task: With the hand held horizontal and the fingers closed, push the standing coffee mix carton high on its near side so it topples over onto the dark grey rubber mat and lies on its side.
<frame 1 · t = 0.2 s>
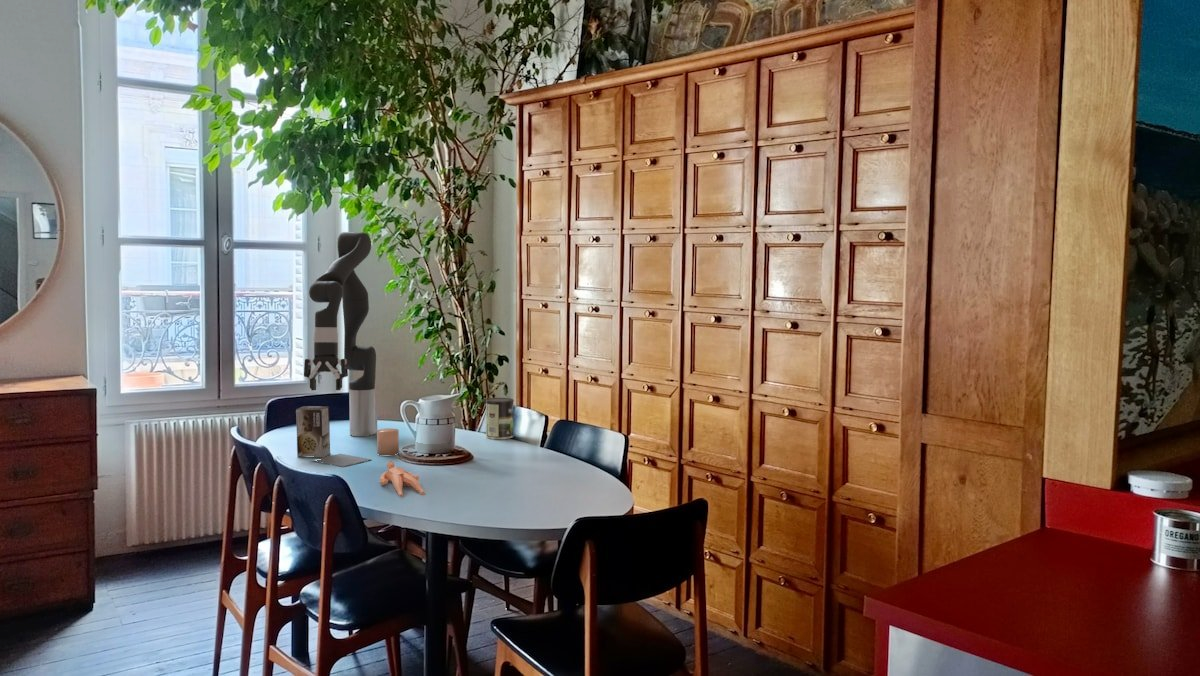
hand: (325, 390, 287), 22 cm above the table, tool pointing down, fingers open, 8 cm apart
male figurine: (400, 487, 250), on the table
peach rounded block: (388, 453, 291), on the table
coffee box: (313, 456, 287), on the table
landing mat: (341, 460, 280), on the table
coffee can: (499, 437, 322), on the table
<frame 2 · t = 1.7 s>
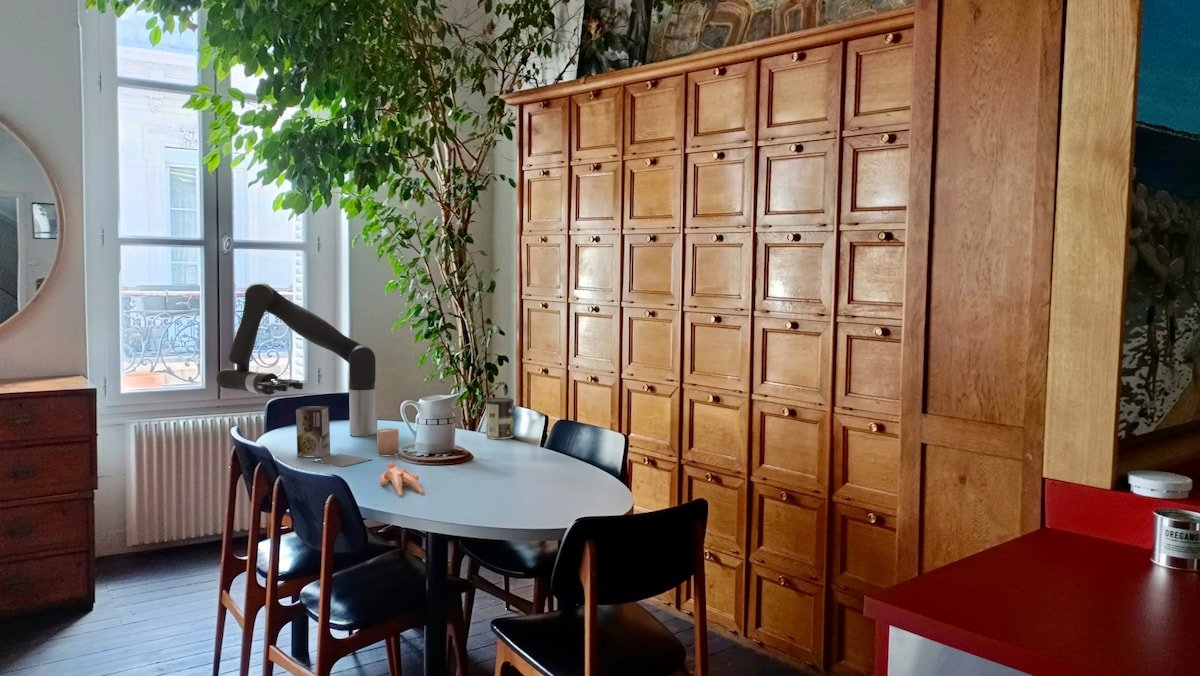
hand: (293, 387, 291), 22 cm above the table, tool horizontal, fingers open, 5 cm apart
nothing on the table moved.
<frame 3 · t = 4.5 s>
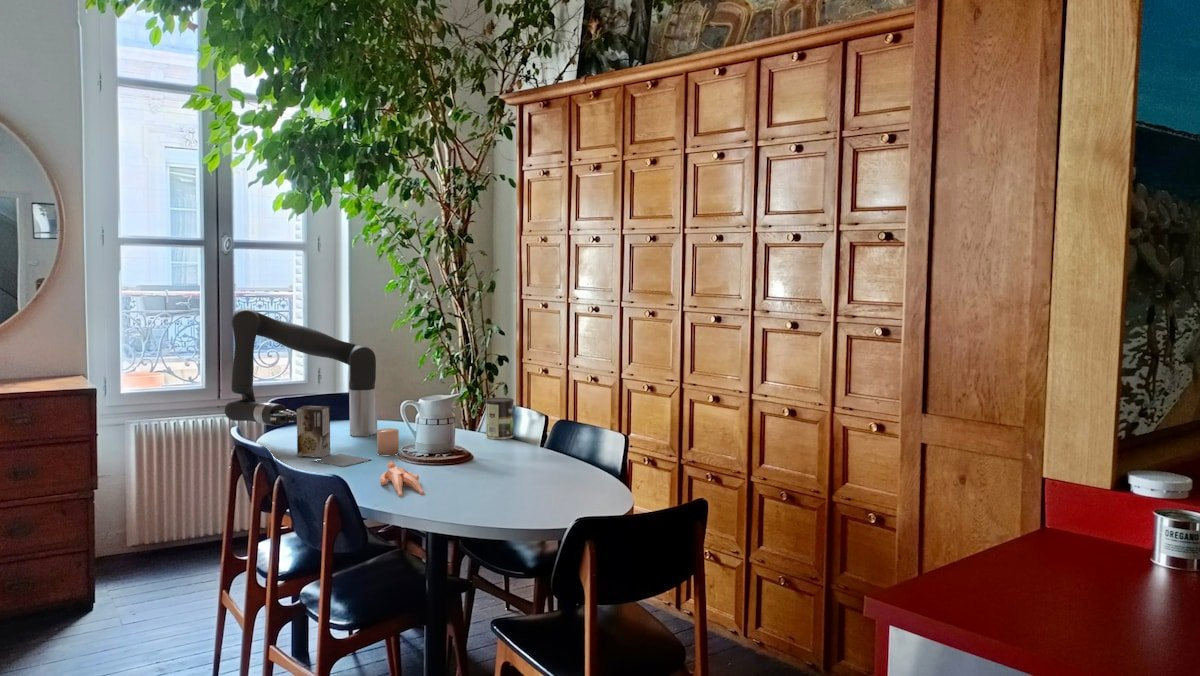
hand: (303, 418, 289), 12 cm above the table, tool horizontal, fingers closed
coffee box: (313, 455, 287), on the table, touching gripper
everything else where it was.
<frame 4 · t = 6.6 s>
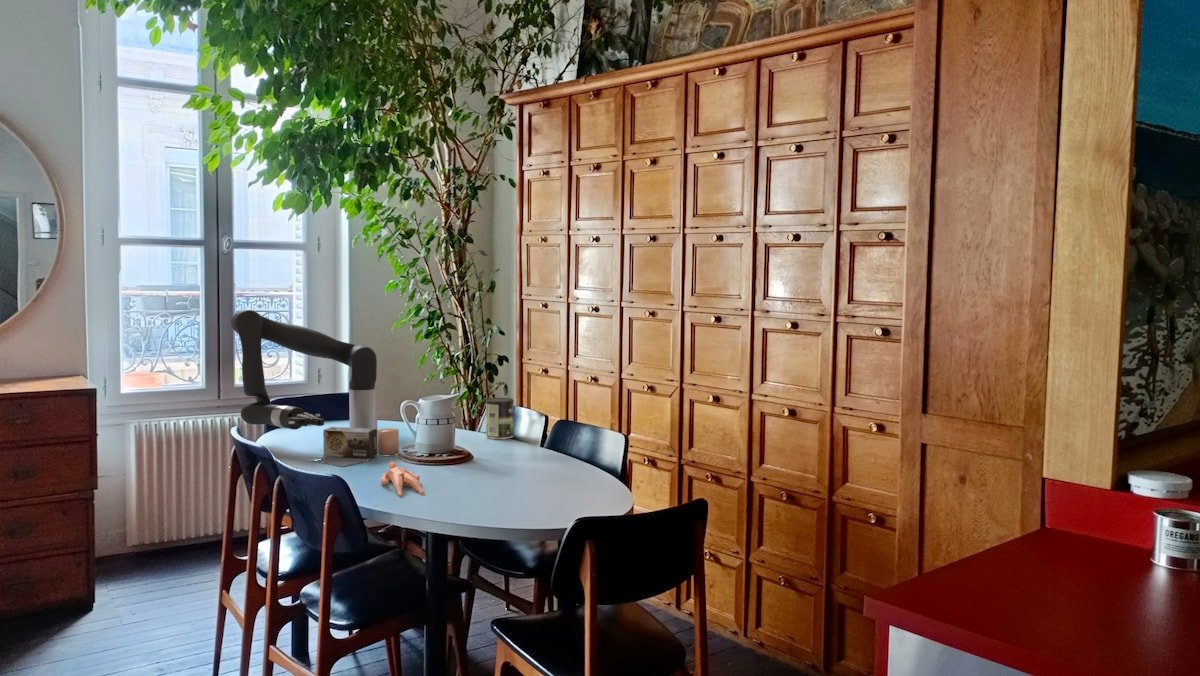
hand: (322, 422, 284), 12 cm above the table, tool horizontal, fingers closed
coffee box: (326, 441, 287), point 5 cm above the table, touching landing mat
everything else where it was.
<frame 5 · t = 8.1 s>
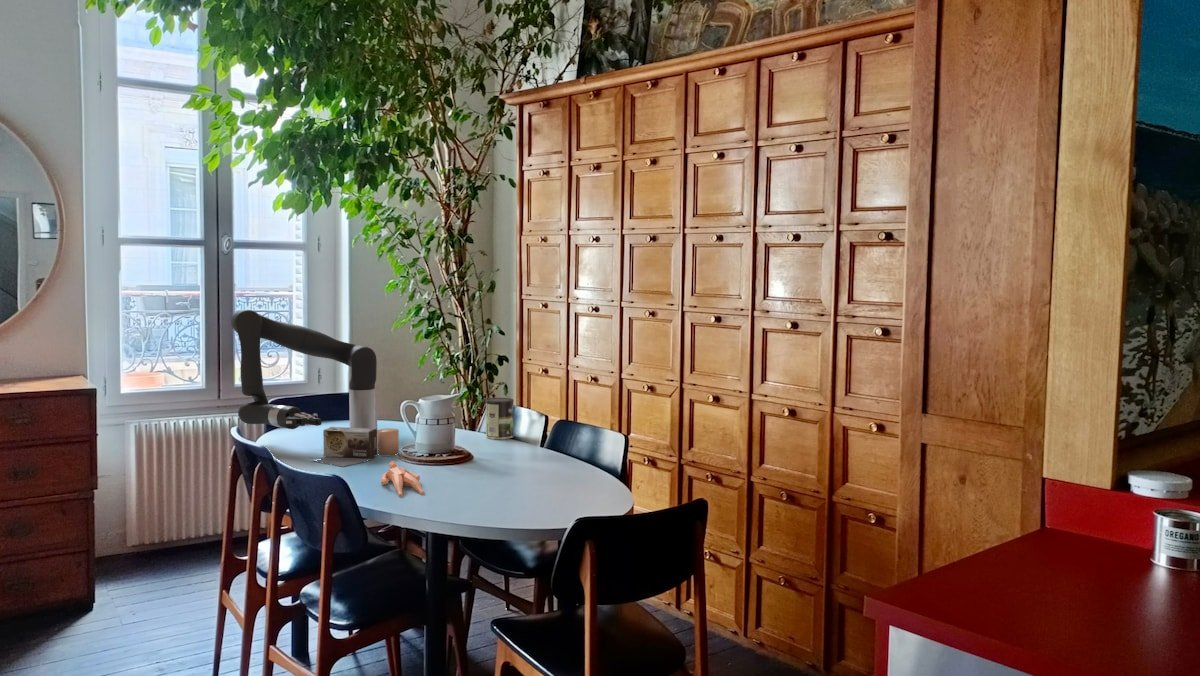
hand: (319, 422, 285), 11 cm above the table, tool horizontal, fingers closed
nothing on the table moved.
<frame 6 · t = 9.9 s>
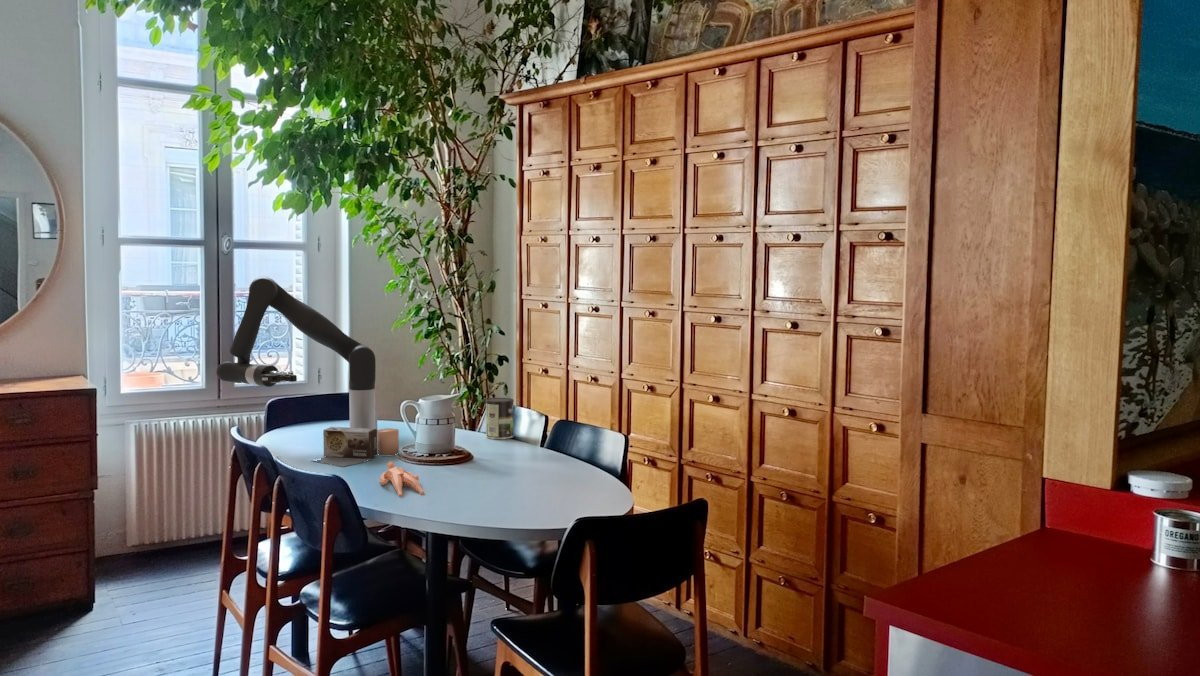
hand: (294, 378, 290), 25 cm above the table, tool horizontal, fingers closed
nothing on the table moved.
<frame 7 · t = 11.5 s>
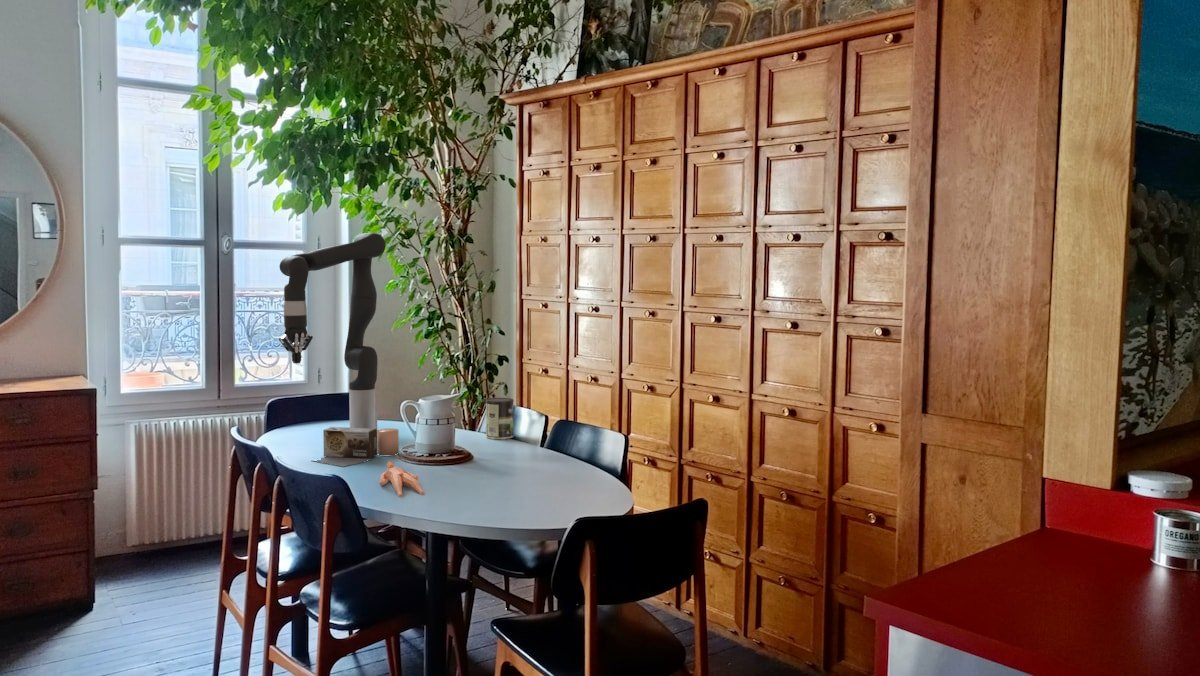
hand: (296, 363, 303), 29 cm above the table, tool pointing down, fingers closed
nothing on the table moved.
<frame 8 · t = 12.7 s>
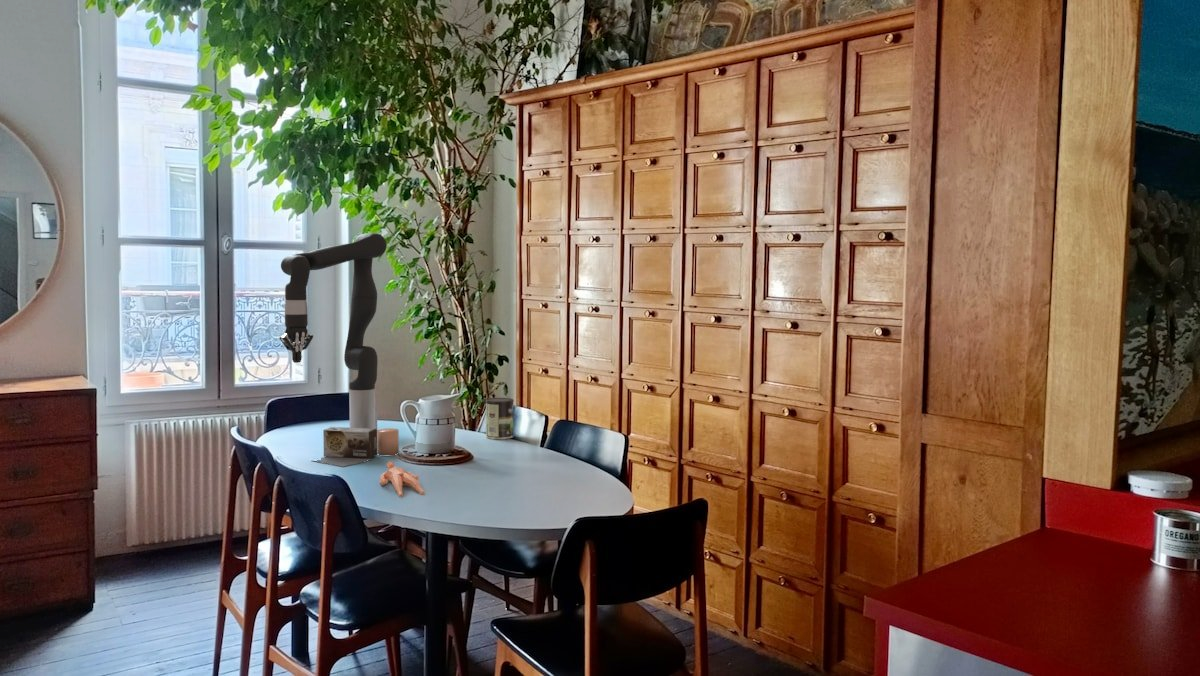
hand: (297, 362, 303), 29 cm above the table, tool pointing down, fingers closed
nothing on the table moved.
at the end: coffee box tilted 91°; coffee box inside the target area (5.0 cm from its centre), point 4.9 cm above the table; the gripper is holding nothing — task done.
